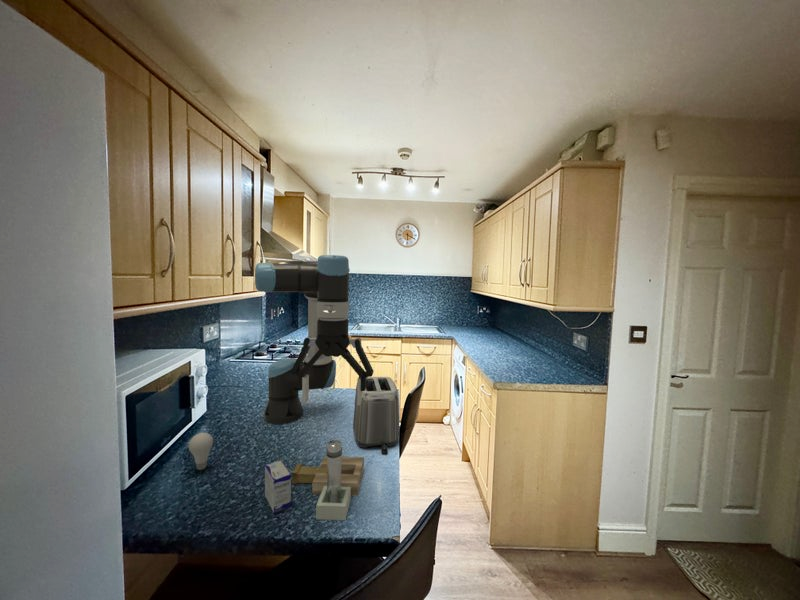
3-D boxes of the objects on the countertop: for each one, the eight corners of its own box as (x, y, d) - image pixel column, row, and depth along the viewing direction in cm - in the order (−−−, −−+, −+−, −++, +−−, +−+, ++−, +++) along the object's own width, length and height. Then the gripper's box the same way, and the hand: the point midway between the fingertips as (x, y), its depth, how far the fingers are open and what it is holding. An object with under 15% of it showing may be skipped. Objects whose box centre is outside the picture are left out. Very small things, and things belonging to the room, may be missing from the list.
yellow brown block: (324, 484, 87) (325, 473, 87) (292, 483, 87) (292, 472, 87) (329, 474, 92) (329, 464, 91) (297, 473, 92) (297, 463, 92)
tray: (316, 519, 75) (316, 505, 74) (324, 498, 82) (324, 486, 81) (345, 520, 75) (345, 506, 74) (350, 499, 82) (350, 486, 81)
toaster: (393, 415, 132) (394, 371, 131) (404, 454, 103) (405, 398, 102) (353, 417, 130) (353, 372, 129) (352, 458, 101) (353, 400, 99)
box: (292, 506, 79) (291, 473, 78) (273, 514, 76) (273, 480, 76) (281, 489, 85) (281, 459, 84) (264, 496, 82) (264, 465, 82)
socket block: (357, 495, 83) (357, 483, 83) (312, 494, 83) (312, 481, 83) (363, 468, 95) (363, 457, 95) (324, 467, 95) (324, 456, 95)
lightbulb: (187, 478, 89) (186, 440, 88) (191, 466, 95) (190, 430, 94) (211, 473, 92) (211, 436, 91) (214, 461, 97) (214, 427, 96)
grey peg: (324, 510, 76) (324, 447, 75) (328, 499, 80) (328, 439, 79) (340, 511, 76) (340, 447, 75) (343, 500, 80) (343, 439, 79)
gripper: (276, 319, 73) (277, 406, 75) (382, 322, 73) (380, 410, 75) (288, 315, 81) (288, 395, 83) (384, 317, 80) (383, 398, 82)
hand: (332, 402), depth 79 cm, fingers open, 13 cm apart
